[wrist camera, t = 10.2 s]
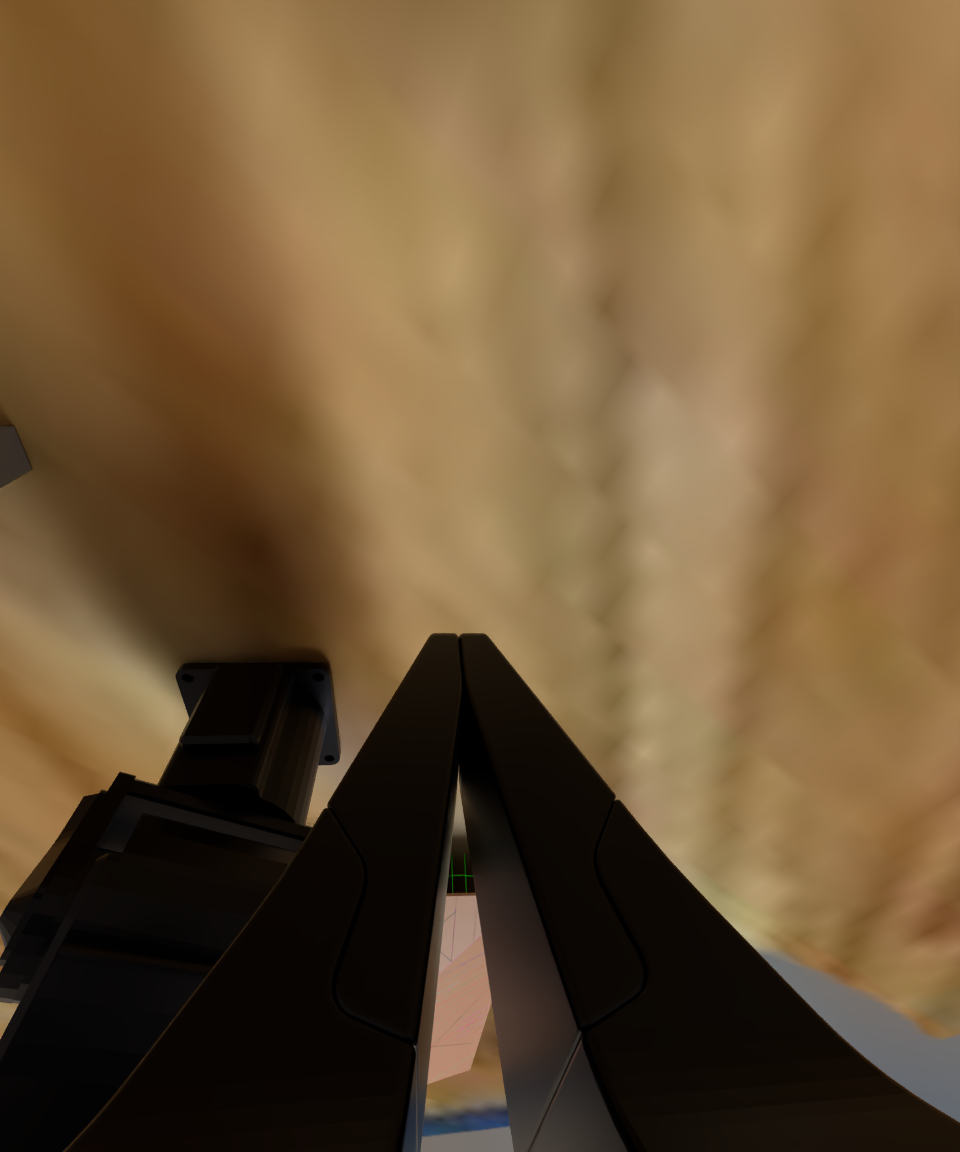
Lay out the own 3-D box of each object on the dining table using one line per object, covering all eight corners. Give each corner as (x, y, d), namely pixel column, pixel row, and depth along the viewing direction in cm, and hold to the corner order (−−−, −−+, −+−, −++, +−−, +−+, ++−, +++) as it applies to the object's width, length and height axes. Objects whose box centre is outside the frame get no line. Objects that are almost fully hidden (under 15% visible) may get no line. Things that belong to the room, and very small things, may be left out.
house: (216, 1047, 48) (180, 1182, 41) (131, 842, 30) (43, 1018, 23) (465, 1034, 51) (470, 1157, 44) (518, 840, 33) (540, 995, 26)
